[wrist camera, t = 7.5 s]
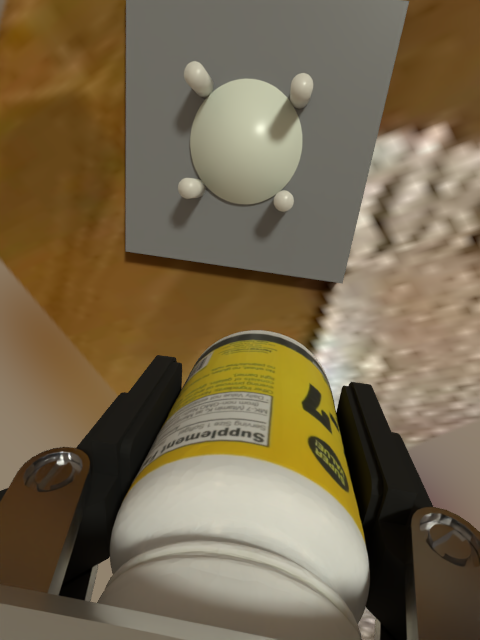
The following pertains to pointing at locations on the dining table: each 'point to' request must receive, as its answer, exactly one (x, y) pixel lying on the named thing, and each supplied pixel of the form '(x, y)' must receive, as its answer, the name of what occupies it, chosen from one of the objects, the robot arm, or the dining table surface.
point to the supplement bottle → (246, 502)
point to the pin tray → (254, 128)
